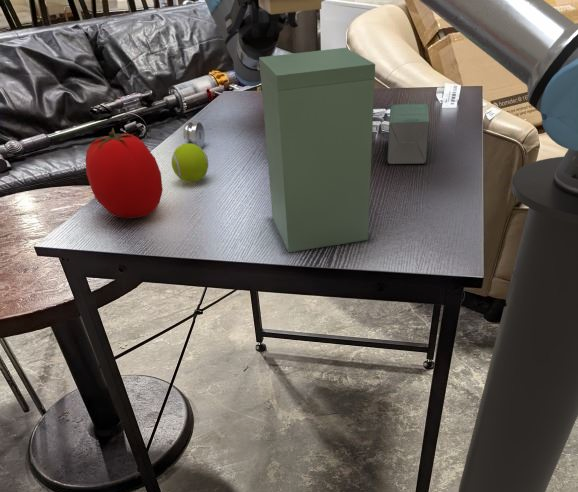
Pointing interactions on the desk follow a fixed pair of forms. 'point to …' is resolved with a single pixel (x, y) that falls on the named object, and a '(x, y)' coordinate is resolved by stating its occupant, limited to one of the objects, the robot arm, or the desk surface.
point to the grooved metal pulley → (194, 133)
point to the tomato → (124, 175)
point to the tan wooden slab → (289, 5)
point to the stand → (319, 145)
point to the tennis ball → (189, 162)
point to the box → (408, 134)
